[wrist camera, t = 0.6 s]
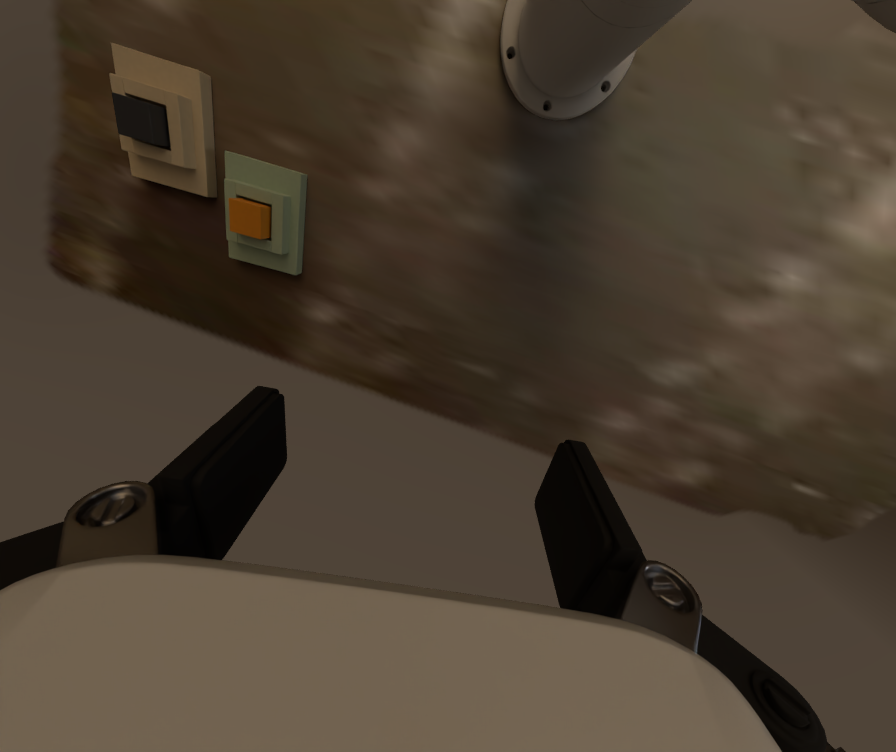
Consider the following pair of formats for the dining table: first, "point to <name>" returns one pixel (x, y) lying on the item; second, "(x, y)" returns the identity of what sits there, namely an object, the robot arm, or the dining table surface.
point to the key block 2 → (287, 212)
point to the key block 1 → (170, 121)
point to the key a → (141, 120)
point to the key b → (250, 218)
